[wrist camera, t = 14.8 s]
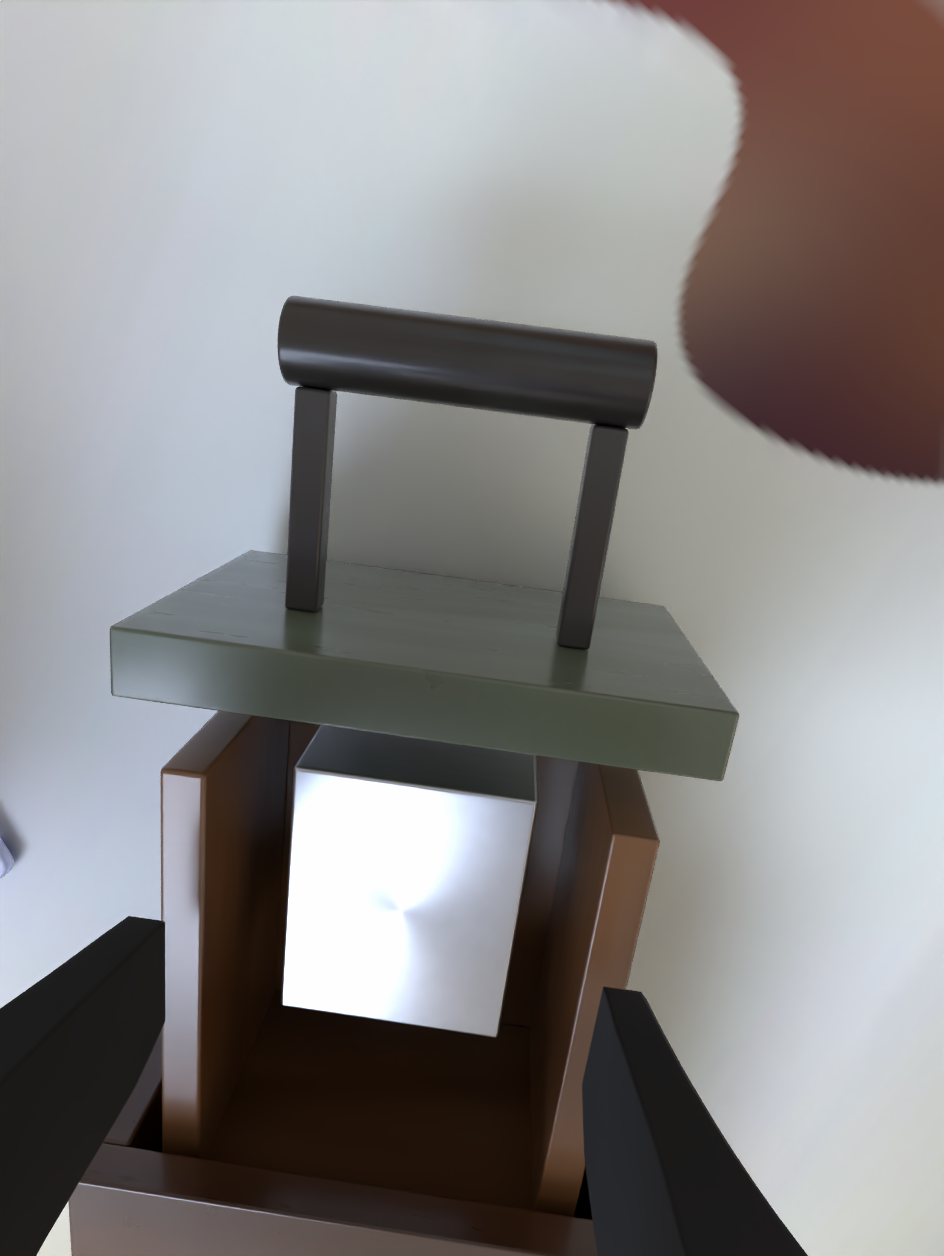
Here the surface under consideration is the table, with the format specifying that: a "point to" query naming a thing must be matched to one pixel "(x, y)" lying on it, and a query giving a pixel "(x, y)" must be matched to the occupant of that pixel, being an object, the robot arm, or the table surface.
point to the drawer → (424, 709)
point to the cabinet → (282, 1206)
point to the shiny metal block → (406, 878)
